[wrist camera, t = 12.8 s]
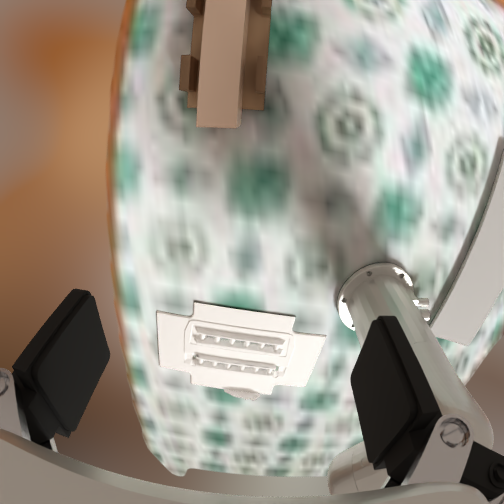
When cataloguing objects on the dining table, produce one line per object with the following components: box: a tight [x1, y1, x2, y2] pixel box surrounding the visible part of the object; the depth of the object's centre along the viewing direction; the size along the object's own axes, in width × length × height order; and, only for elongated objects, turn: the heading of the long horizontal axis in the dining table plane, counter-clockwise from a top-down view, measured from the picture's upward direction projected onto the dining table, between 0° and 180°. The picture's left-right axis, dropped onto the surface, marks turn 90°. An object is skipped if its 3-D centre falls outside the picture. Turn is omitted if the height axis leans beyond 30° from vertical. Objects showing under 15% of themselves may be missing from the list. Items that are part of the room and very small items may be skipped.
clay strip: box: [196, 0, 251, 128], centre depth 26 cm, size 4×22×6 cm, turn 176°
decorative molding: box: [429, 149, 504, 346], centre depth 40 cm, size 34×5×10 cm
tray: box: [157, 302, 326, 401], centre depth 50 cm, size 20×28×4 cm
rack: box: [179, 0, 272, 110], centre depth 27 cm, size 9×18×5 cm, turn 176°
